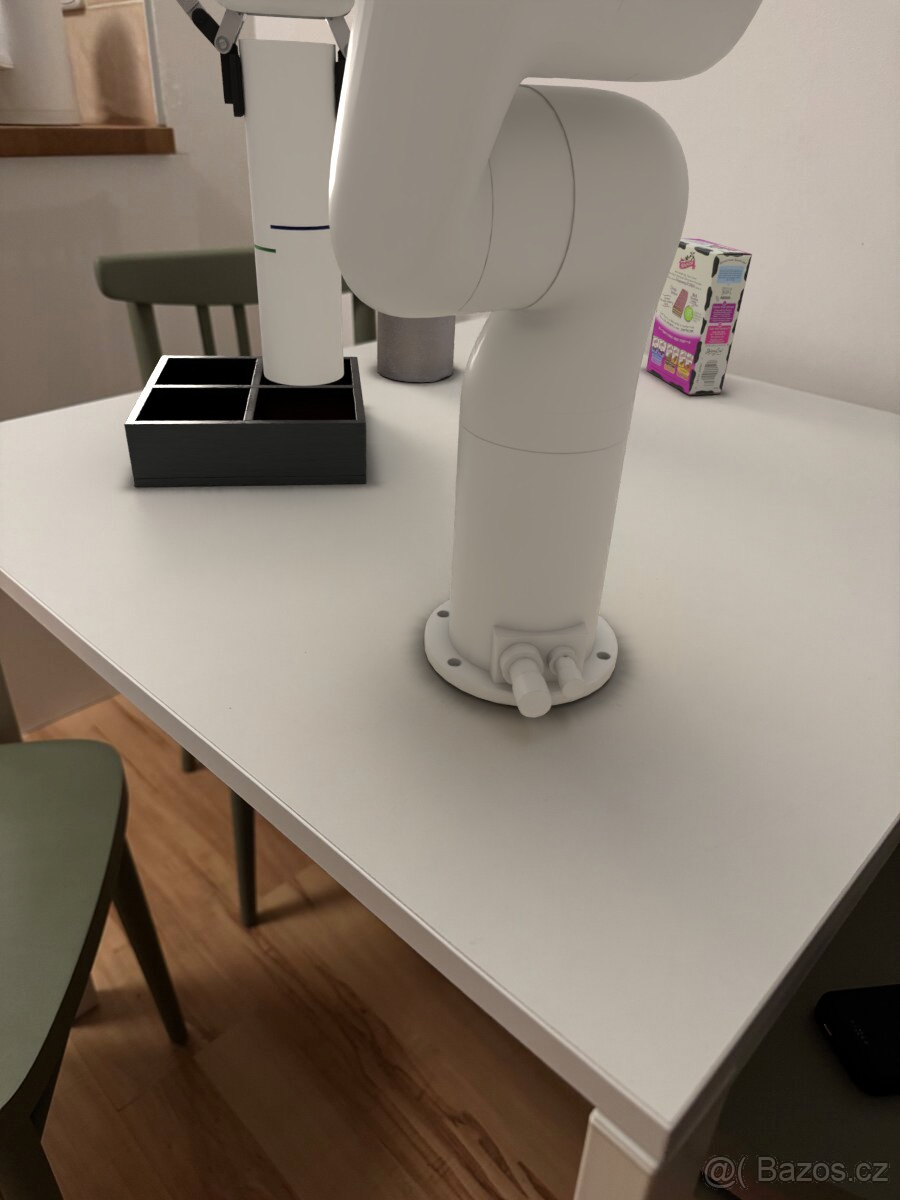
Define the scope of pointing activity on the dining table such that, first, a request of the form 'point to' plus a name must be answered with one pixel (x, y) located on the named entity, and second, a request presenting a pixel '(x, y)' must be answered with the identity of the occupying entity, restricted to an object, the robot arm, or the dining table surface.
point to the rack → (245, 426)
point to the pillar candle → (415, 347)
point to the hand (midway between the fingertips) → (291, 116)
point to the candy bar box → (698, 316)
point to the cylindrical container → (293, 206)
